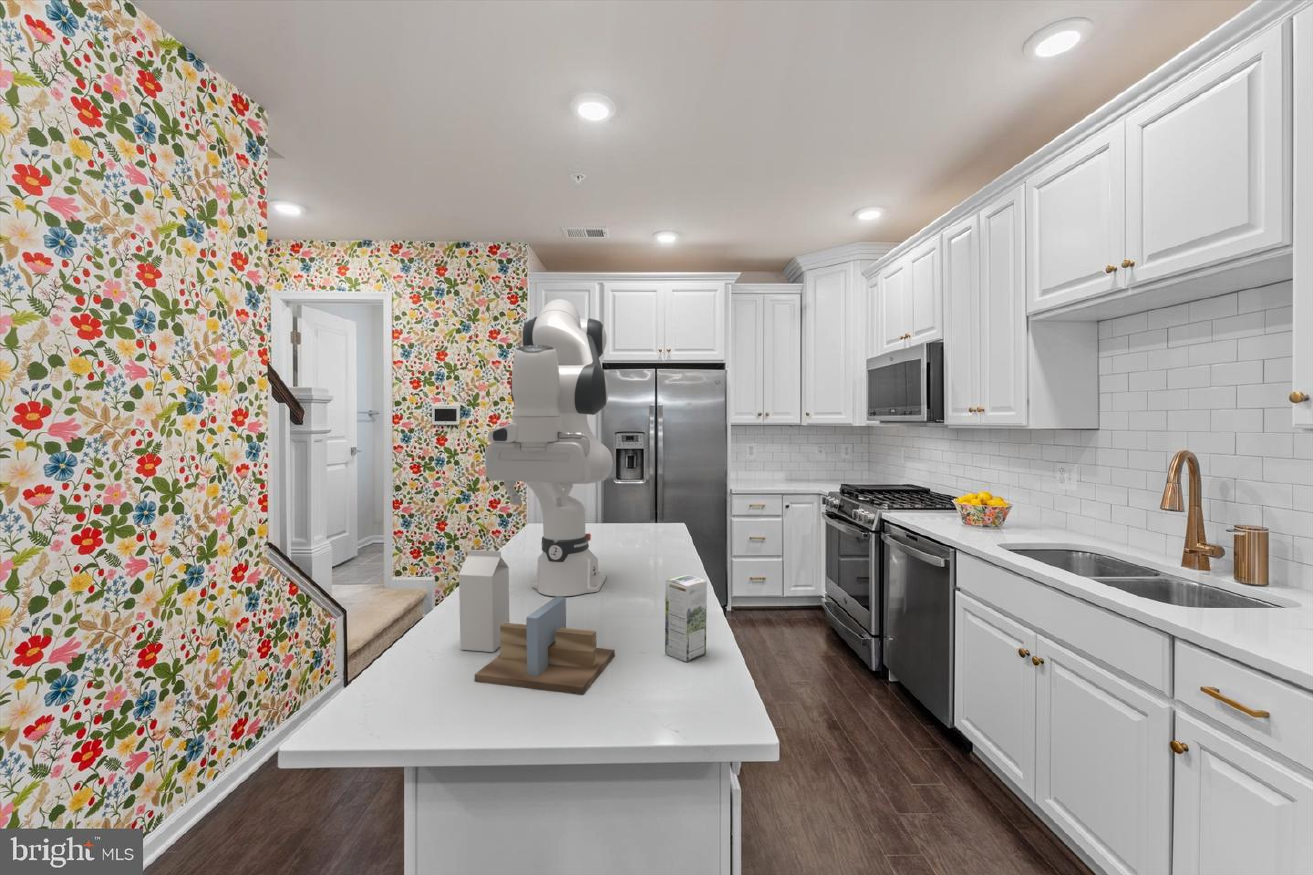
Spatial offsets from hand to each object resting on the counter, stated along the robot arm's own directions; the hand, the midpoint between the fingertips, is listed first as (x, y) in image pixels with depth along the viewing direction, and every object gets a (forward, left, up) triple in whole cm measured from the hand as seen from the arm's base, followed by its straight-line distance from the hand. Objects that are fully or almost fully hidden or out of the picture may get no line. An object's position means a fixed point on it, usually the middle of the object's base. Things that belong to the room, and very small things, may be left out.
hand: (538, 505), depth 109 cm
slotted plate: (+4, +4, -28) cm, 28 cm away
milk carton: (-3, -13, -29) cm, 32 cm away
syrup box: (-8, +27, -29) cm, 40 cm away
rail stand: (+4, +4, -29) cm, 29 cm away
